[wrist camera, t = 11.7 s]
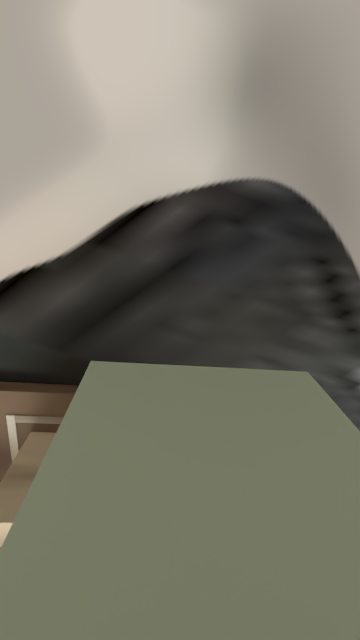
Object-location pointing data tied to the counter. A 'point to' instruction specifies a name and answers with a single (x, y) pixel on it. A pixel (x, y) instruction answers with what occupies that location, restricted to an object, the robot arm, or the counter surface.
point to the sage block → (189, 512)
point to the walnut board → (29, 414)
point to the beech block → (21, 478)
